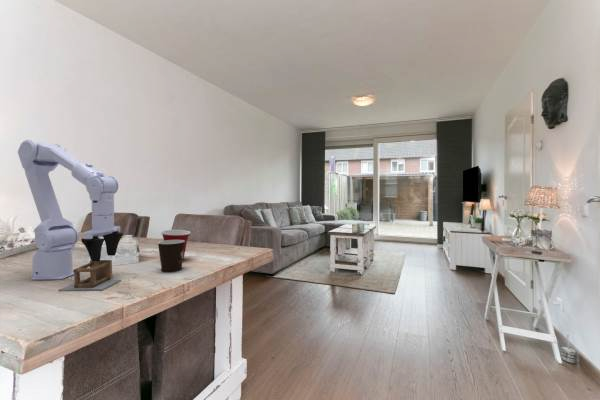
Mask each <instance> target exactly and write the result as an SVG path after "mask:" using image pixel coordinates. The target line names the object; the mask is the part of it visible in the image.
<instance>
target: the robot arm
mask: <svg viewBox="0 0 600 400" xmlns="http://www.w3.org/2000/svg"><path fill="white" fill-rule="evenodd" d="M17 154H18V159H19V160H20V164H21V168H22V169H24V174H25V177H26V179H27V182H28V183H27V184H28V186H29V189H30V192H31V195H32V197H33V201H34V203H35V206H36V209H37V213H38V215H39V218H40V221H41V222H40V223H39V224H38V225H37V226H36V227H35V228H34V229H33V233H34V244H35V246H36V247H37V249H39V250H37V251H36V252H35V253H34V254H33V255H32V277H31V278H30V280H38V281H39V280H63V279H66V278H68V277H71V276H74V272H73V270H74V269H73V268H74V267H73V248H75V245H76V244H77V242H79V239H80V237H79V232H78V230H77V229H76V228H75V227H74V224H73V222H72V221H70V220H68V219H66V218H64V217H63V214H62V211H61V208H60V205H59V201H58V200H57V199H58V198H57V196H56V193H55V191H54V186H53V185H52V184H53V183H52V182H51V179H50V176H49V173H51V172H54V171H55V169H56V168H57V167H58V166H59V165H61V166H62V167H64V168H65V169H67V170H69V171H70V172H71V177H73V178H74V179H75V180H77V182H79V183H81V184H83V185H84V186H85V189H86V192H87V193H88V195H89V199H90V201H91V229H89V230H87V231H84V232H83V233H82V234H83V237H81V243H82V244H83V246H84V247H85V248H86V250H87V253H88V255H89V259H90V261H100V260H101V257H102V248H103V243H104V242H105V248H106V249H105V250H106V255H107V256H111V257H112V256H116V253H117V250H118V247H119V243H120V240H121V239H122V237H123V236H124V233H123V232H121V226H120V225H115V194H116V193H117V192H118V190H119V183H118V181H117V180H116V179H115V177H113V176H106V175H105V174H104V172H102V171H99V170H98V169H96V168H95V167H93V166H94V165H93V164H92V163H88V162H86V163H85V162H80V161H78V160H77V159H76V158H75V157H73V155H71V154H70V153H68V151H67V148H65V147H63V146H61V145H60V144H58V143H57V144H56V143H55V144H54V143H48V142H41V141H36V140H35V141H34V140H32V139H26V140H23V141H22V142H21V143H20V145H19V147H18V150H17ZM101 236H102V238H100V237H101Z"/></svg>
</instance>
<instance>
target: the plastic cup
mask: <svg viewBox="0 0 600 400" xmlns="http://www.w3.org/2000/svg"><path fill="white" fill-rule="evenodd" d="M160 234H161V235H162V238H163V241H166V240H184V241H185V243H184V252H183V260H184V259H185V253H186V248H187V244H188V239H189V236H190V234H191V231H189V230H185V229H167V230H162V231H161V233H160Z"/></svg>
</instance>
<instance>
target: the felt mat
mask: <svg viewBox="0 0 600 400" xmlns="http://www.w3.org/2000/svg"><path fill="white" fill-rule="evenodd" d="M83 280H84V279H80V282H81V281H83ZM97 281H98V280H96V282H97ZM121 281H122V280H121V279H111V280H106V281H104V282H102V283H100V284H98V285H96V286H95V287H93V288H91V287H77V288H75V287H74V285H75V282H73V283H70V284H68V285H66V286H63V287H61V288H59V289H58V291H57V292H84V291H85V292H90V291H92V292H93V291H97V292H98V291H101V292H102V291H105V290H106V289H109V288H111V287H112V286H114V285H117V283H120V282H121ZM87 283H91V281H89V282H87Z"/></svg>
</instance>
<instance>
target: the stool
mask: <svg viewBox="0 0 600 400" xmlns="http://www.w3.org/2000/svg"><path fill="white" fill-rule="evenodd" d="M73 272H74V275H73V276H74V279H73V280H74V283H75V285H74V287H75V288H77V287H91V288H93V287H95V286H96V285H98V284H100V283H102V282H104V281H106V280H113V262H112V259H100V261H91V260H89V262H88V263H87V264H84V265H81V266H79V267H76V268H74V269H73ZM81 273H89V276H90V277H88V278H86V279H82V280H83V281H81V282H80V280H81ZM96 280H98V281H97V282H96ZM89 281H91V283H87V282H89Z"/></svg>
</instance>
